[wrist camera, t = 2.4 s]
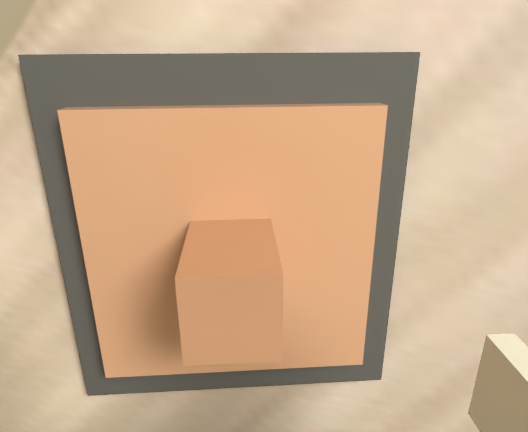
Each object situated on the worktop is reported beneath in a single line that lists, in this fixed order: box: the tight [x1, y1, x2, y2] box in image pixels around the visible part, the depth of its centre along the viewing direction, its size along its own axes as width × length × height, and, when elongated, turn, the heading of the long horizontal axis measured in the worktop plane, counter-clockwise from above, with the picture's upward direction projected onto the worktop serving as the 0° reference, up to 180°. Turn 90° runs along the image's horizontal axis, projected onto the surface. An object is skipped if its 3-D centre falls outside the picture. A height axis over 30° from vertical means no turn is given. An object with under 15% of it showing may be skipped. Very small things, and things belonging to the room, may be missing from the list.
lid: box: [57, 103, 388, 378], centre depth 17 cm, size 13×13×6 cm
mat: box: [18, 52, 420, 396], centre depth 20 cm, size 16×17×1 cm
